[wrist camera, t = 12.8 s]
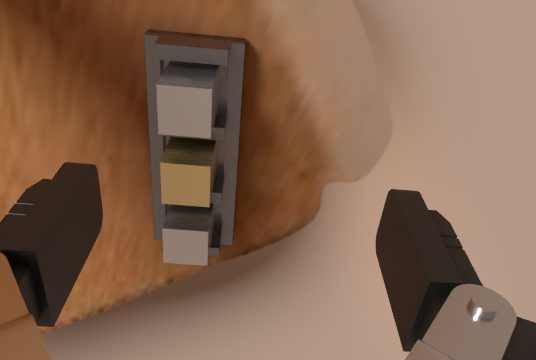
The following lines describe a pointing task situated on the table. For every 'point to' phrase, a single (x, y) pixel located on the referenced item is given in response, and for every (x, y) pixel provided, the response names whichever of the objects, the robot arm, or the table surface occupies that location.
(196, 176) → the tan rectangular block
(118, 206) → the table surface
